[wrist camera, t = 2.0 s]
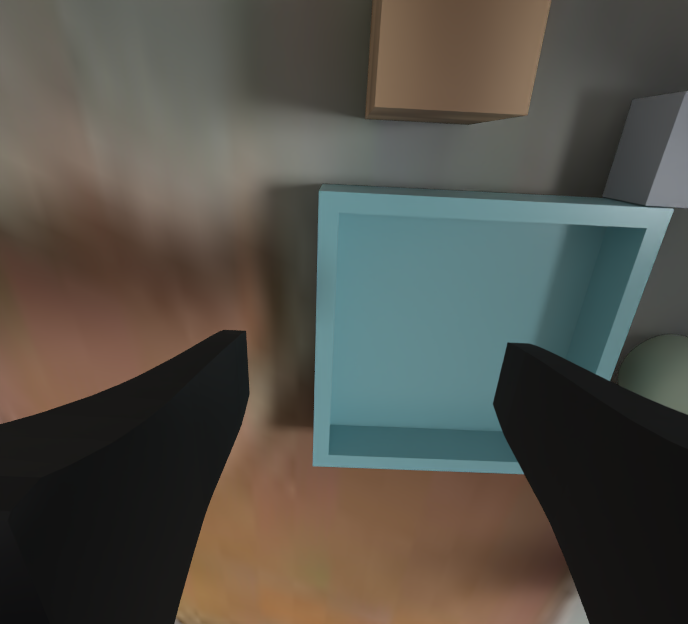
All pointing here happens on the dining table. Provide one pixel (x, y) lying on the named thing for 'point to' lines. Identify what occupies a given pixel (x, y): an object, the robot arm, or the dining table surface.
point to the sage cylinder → (658, 371)
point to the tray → (460, 312)
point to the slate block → (653, 153)
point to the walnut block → (453, 59)
